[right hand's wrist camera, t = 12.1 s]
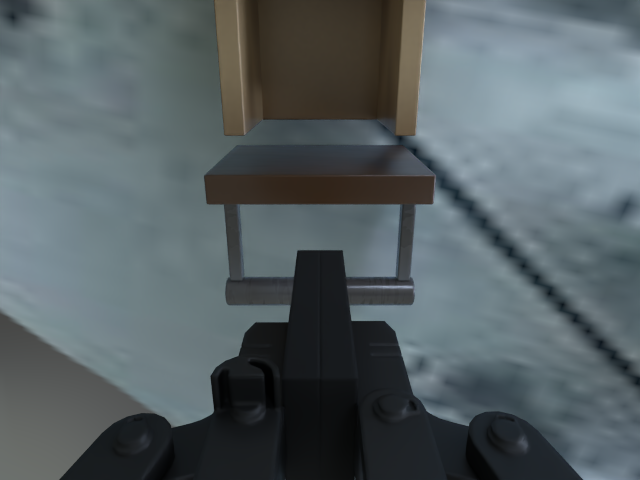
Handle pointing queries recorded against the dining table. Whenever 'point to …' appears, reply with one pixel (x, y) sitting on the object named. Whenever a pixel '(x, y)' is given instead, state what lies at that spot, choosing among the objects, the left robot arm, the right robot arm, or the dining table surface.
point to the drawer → (320, 104)
